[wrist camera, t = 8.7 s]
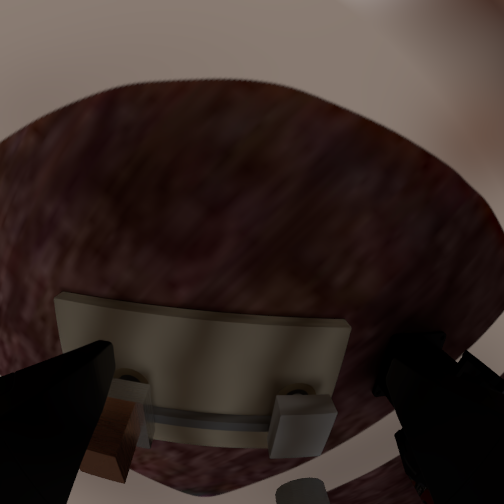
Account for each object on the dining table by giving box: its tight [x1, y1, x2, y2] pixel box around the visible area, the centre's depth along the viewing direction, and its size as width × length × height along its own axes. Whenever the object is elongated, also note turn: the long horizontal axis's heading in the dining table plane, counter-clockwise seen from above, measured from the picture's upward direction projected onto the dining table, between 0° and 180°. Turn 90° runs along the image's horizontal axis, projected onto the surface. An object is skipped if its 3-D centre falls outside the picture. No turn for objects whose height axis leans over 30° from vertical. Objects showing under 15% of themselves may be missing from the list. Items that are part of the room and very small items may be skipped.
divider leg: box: [80, 378, 155, 484], centre depth 16 cm, size 4×5×8 cm
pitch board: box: [54, 292, 351, 458], centre depth 19 cm, size 22×13×5 cm, turn 84°
